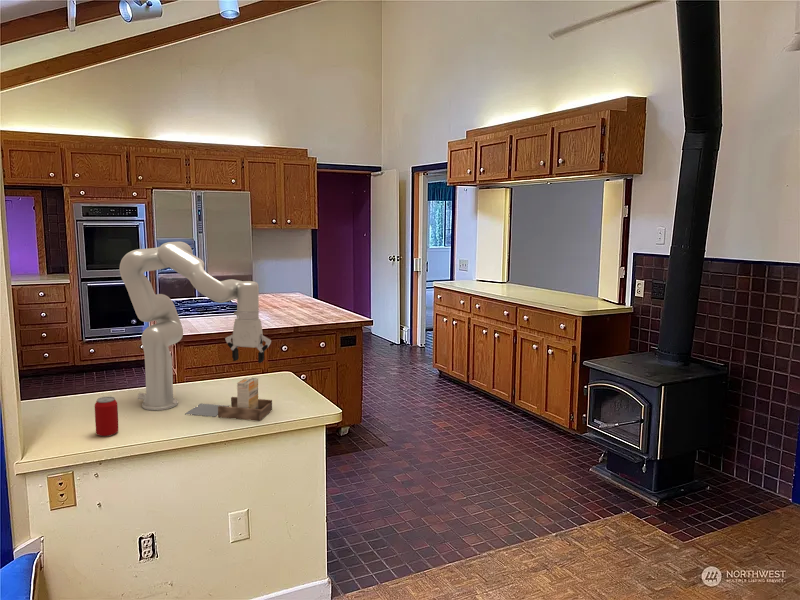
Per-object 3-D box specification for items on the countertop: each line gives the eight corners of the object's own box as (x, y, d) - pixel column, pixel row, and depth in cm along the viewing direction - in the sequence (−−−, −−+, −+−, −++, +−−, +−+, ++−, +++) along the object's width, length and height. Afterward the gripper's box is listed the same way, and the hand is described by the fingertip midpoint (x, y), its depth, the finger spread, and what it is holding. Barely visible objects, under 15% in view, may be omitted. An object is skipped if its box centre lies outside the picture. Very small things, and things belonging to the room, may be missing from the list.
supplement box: (249, 418, 213) (248, 383, 211) (237, 417, 214) (236, 382, 212) (259, 411, 221) (258, 377, 219) (247, 409, 222) (246, 376, 220)
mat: (184, 414, 215) (184, 413, 215) (200, 404, 227) (200, 403, 227) (215, 417, 213) (215, 416, 213) (229, 406, 225) (229, 405, 225)
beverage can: (122, 430, 198) (120, 396, 196) (113, 437, 192) (111, 402, 190) (101, 429, 198) (100, 395, 196) (92, 437, 191) (90, 402, 190)
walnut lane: (218, 417, 213) (217, 406, 213) (232, 406, 225) (232, 396, 224) (259, 420, 211) (259, 410, 210) (272, 410, 223) (272, 400, 222)
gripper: (220, 315, 210) (221, 362, 212) (266, 318, 207) (266, 365, 210) (230, 312, 217) (230, 357, 220) (274, 315, 215) (274, 360, 217)
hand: (248, 361), depth 215 cm, fingers open, 9 cm apart
